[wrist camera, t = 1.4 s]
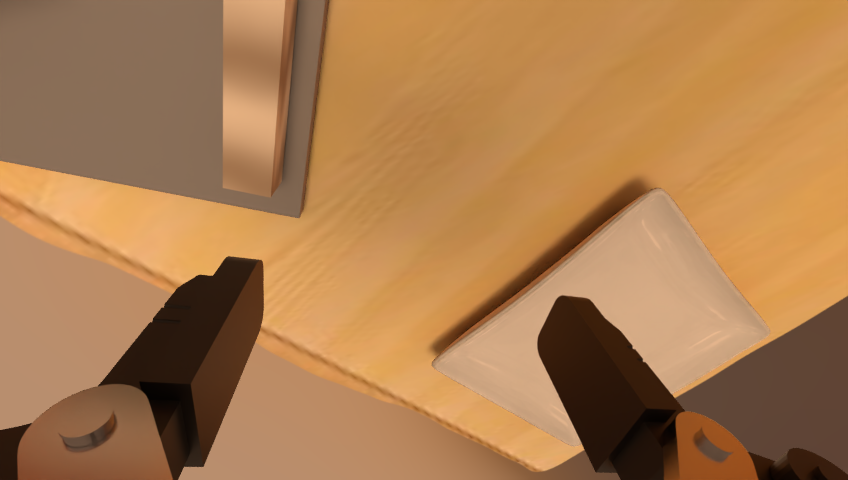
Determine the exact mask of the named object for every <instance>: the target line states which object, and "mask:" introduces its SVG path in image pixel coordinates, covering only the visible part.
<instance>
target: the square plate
mask: <svg viewBox="0 0 848 480" xmlns="http://www.w3.org/2000/svg"><path fill="white" fill-rule="evenodd" d="M561 295H565V296H574V297H583V298H588V299H590V300H591V301H592V302H593V303H594V305H595V306H596V307H597V309H598V310H599V311H600V312H601V314H602V315H603V316H604V317H605V319H607V320H608V321H609V322H610V323H612V324H613V325H614V326H615V327H616V328H618V329H619V330H620V331H621V332H622V333H623V334H624V336H625V337H626V338H627V339H628V341H629V342H630V343H631V344H632V346H633V349H636V351H637V352H638V353H639V354H640V356H641V357H642V358H643V362H646V363H647V364H648V366H649V367H650V368H651V369H652V371H653V372H654V373H655V374H656V376H657V377H658V378H659V379H660V381H661V382H662V383H663V384H664V385H665V387H666V388H667V389H668V390H669V392H670V393H671V394H673V393H675V392H677V391H679V390H680V389H682V388H684V387H685V386H687V385H689V384H691V383H692V382H694V381H696V380H697V379H699V378H701V377H702V376H704V375H705V374H707V373H709V372H710V371H712V370H714V369H715V368H717V367H719V366H720V365H722V364H724V363H725V362H727V361H728V360H730V359H732V358H733V357H735V356H737V355H738V354H740V353H741V352H743V351H745V350H746V349H748V348H750V347H752V346H753V345H755V344H757V343H758V342H760V341H761V340H763V339H765V338H766V337H767V336H768V335H769V334H770V329H769V328H768V326H767V325H766V323H765V322H764V320H763V319H762V318H761V317H760V315H759V314H758V313H757V312H756V311H755V309H754V308H753V307H752V306H751V305H750V304H749V302H748V301H747V300H746V299H745V298H744V297H743V295H742V294H741V293H740V291H739V290H738V289H737V288H736V287H735V285H734V284H733V283H732V282H731V280H730V279H729V278H728V277H727V275H726V274H725V273H724V271H723V270H722V269H721V267H720V266H719V264H718V263H717V262H716V260H715V259H714V258H713V256H712V255H711V253H710V252H709V250H708V249H707V248H706V246H705V245H704V243H703V242H702V240H701V239H700V237H699V236H698V235H697V233H696V232H695V230H694V229H693V227H692V226H691V224H690V223H689V222H688V220H687V219H686V217H685V216H684V214H683V213H682V211H681V210H680V209H679V207H678V206H677V204H676V203H675V202H674V200H673V199H672V198H671V197H670V196H669V194H668V193H667V192H666V191H665V190H663V189H661V188H654V189H651V190H650V191H648V192H646V193H645V194H643V195H641V196H640V197H638V198H637V199H635V200H634V201H633V202H631V203H630V204H628V205H627V206H626V207H624V208H623V209H622V210H620V211H619V212H618V213H616V214H615V215H614V216H612V217H611V218H610V219H609V220H607V221H606V222H605V223H603V224H602V225H601V226H600V227H599V228H597V229H596V230H595V231H594V232H593V233H591V234H590V235H589V236H588V237H587V238H586V239H584V240H583V241H582V242H581V243H580V244H579V245H577V246H576V247H575V248H574V249H572V250H571V251H570V252H569V253H568V254H566V255H565V256H564V257H563V258H561V259H560V260H559V261H558V262H556V263H555V264H554V265H553V266H551V267H550V268H549V269H548V270H546V271H545V272H544V273H543V274H541V275H540V276H539V277H537V278H536V279H535V280H534V281H532V282H531V283H530V284H529V285H527V286H526V287H525V288H523V289H522V290H521V291H519V292H518V293H517V294H515V295H514V296H513V297H511V298H510V299H509V300H507V301H506V302H505V303H503V304H502V305H501V306H499V307H498V308H497V309H495V310H494V311H493V312H491V313H490V314H489V315H487V316H486V317H485V318H483V319H482V320H480V321H479V322H478V323H476V324H475V325H474V326H472V327H471V328H470V329H469V330H467V331H466V332H465V333H464V334H462V335H461V336H460V337H459V338H457V339H456V340H455V341H454V342H453V343H452V344H450V345H449V346H448V347H447V348H446V349H445V350H444V351H443V352H442V353H441V354H440V355H439V356H438V357H436V358H435V359H434V360H433V362H432V366H433V367H434V368H435V369H436V370H437V371H439V372H441V373H442V374H444V375H446V376H447V377H449V378H451V379H452V380H454V381H456V382H458V383H460V384H461V385H463V386H465V387H467V388H468V389H470V390H472V391H474V392H476V393H477V394H479V395H481V396H483V397H485V398H486V399H488V400H490V401H492V402H493V403H495V404H497V405H499V406H500V407H502V408H504V409H506V410H508V411H509V412H511V413H513V414H515V415H516V416H518V417H520V418H522V419H523V420H525V421H527V422H529V423H530V424H532V425H534V426H536V427H537V428H539V429H541V430H543V431H544V432H546V433H548V434H550V435H552V436H553V437H555V438H557V439H559V440H561V441H562V442H564V443H566V444H568V445H570V446H579V445H581V444H582V443H581V441H580V439H579V437H578V435H577V433H576V431H575V429H574V427H573V424H572V422H571V420H570V418H569V416H568V414H567V412H566V410H565V408H564V406H563V404H562V402H561V400H560V398H559V396H558V394H557V392H556V390H555V387H554V385H553V383H552V381H551V379H550V377H549V375H548V373H547V371H546V369H545V367H544V365H543V363H542V361H541V359H540V357H539V354H538V349H537V340H538V335H539V333H540V331H541V329H542V327H543V325H544V323H545V321H546V319H547V316H548V314H549V312H550V310H551V308H552V306H553V304H554V302H555V300H556V299H557V298H558V297H559V296H561Z"/></svg>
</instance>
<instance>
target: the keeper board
mask: <svg viewBox="0 0 848 480" xmlns="http://www.w3.org/2000/svg"><path fill="white" fill-rule="evenodd" d="M328 3H329V0H298V3H297V14H296V26H295V37H294V48H293V60H292V71H291V83H290V94H289V105H288V117H287V128H286V139H285V151H284V162H283V174H282V182H281V183H280V185H279V186H278V188H277V189H276V191H275V192H274V194H273V195H272V196H271V198H270V197H265V196H260V195H255V194H251V193H246V192H241V191H236V190H231V189H226V188H223V0H0V161H4V162H9V163H15V164H20V165H25V166H30V167H35V168H41V169H46V170H51V171H56V172H61V173H67V174H72V175H77V176H82V177H87V178H93V179H98V180H103V181H108V182H113V183H118V184H124V185H129V186H134V187H139V188H144V189H150V190H155V191H160V192H165V193H170V194H176V195H181V196H186V197H191V198H196V199H202V200H207V201H212V202H217V203H222V204H227V205H233V206H238V207H243V208H248V209H253V210H259V211H264V212H269V213H274V214H279V215H285V216H290V217H295V218H300V216H301V213H302V211H303V206H304V198H305V189H306V181H307V173H308V165H309V157H310V149H311V141H312V133H313V125H314V117H315V108H316V100H317V92H318V84H319V76H320V68H321V60H322V52H323V44H324V36H325V27H326V19H327V11H328Z"/></svg>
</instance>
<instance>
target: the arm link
mask: <svg viewBox="0 0 848 480" xmlns="http://www.w3.org/2000/svg"><path fill="white" fill-rule="evenodd" d="M297 3H298V0H223V188H226V189H231V190H236V191H241V192H246V193H251V194H255V195H260V196H265V197H270V198H271V196H272V195H273V194H274V192H275V191H276V189H277V188H278V186H279V185H280V183H281V182H282V174H283V162H284V151H285V139H286V128H287V117H288V105H289V94H290V83H291V71H292V60H293V48H294V37H295V26H296V14H297Z"/></svg>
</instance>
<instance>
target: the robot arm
mask: <svg viewBox="0 0 848 480" xmlns="http://www.w3.org/2000/svg"><path fill="white" fill-rule="evenodd" d="M263 310H264V290H263V262H262V260H256V259H247V258H238V257H230V256H228V257H226V258H225V260H224V261H223V262H222V264H221V265H220V267H219V268H218V269H217V271H216V272H215V274H214V275H213V276H207V275H198V276H196V277H194V278H193V279H191V280H190V281H188V282H186V283H185V284H183V285H181V286H180V287H178V288H177V289H176V291H175V292H174V293H173V294H172V296H171V297H170V298H169V299H168V301H167V302H166V303H165V306H164V308H161V309H160V311H159V312H158V313H157V314H156V316H155V317H154V318H153V321H152V322H150V323H149V324H148V326H147V327H146V328H145V329H144V330H143V332H142V333H141V334H140V335H139V336H138V338H137V339H136V340H135V342H134V343H133V344H132V345H131V347H130V348H129V349H128V350H127V351H126V352H125V354H124V355H123V356H122V357H121V359H120V360H119V361H118V362H117V364H116V365H115V366H114V367H113V369H112V370H111V371H110V373H109V374H108V375H107V376H106V377H105V379H104V380H103V381H102V382H101V383H100V384H99V385H98V387H93V388H90V389H86V390H83V391H80V392H78V393H76V394H74V395H71V396H69V397H67V398H65V399H63V400H61V401H60V402H58V403H56V404H55V405H53V406H52V407H50V408H49V409H48V410H46V411H45V412H44V413H42V414H41V415H40V416H39V417H38V418H37V419H36V420H35V421H34V422H33V423H30V424H26V425H22V426H19V427H14V428H9V429H4V430H0V480H178V478H179V476H180V474H181V472H182V470H183V468H184V467H203V466H204V464H205V462H206V459H207V457H208V454H209V452H210V450H211V447H212V445H213V442H214V440H215V437H216V435H217V433H218V430H219V428H220V425H221V423H222V421H223V418H224V416H225V413H226V411H227V409H228V406H229V404H230V401H231V399H232V397H233V394H234V392H235V389H236V387H237V384H238V382H239V380H240V377H241V375H242V373H243V370H244V367H245V365H246V363H247V360H248V358H249V356H250V353H251V351H252V348H253V346H254V344H255V341H256V339H257V336H258V334H259V331H260V328H261V324H262V319H263ZM537 349H538V354H539V357H540V359H541V361H542V363H543V365H544V367H545V369H546V371H547V373H548V375H549V377H550V379H551V381H552V383H553V385H554V387H555V390H556V392H557V394H558V396H559V398H560V400H561V402H562V404H563V406H564V408H565V410H566V412H567V414H568V416H569V418H570V420H571V422H572V424H573V427H574V429H575V431H576V433H577V435H578V437H579V439H580V441H581V443H582V445H583V447H584V449H585V451H586V453H587V455H588V457H589V459H590V461H591V463H592V465H593V467H594V470H595V472H609V473H612V472H613V473H618V475H619V477H620V479H621V480H848V475H847V474H846V473H845V472H843V471H842V470H841V469H840V468H838V467H837V466H835V465H834V464H832V463H831V462H829V461H828V460H826V459H824V458H822V457H821V456H818V455H816V454H815V453H812V452H810V451H807V450H804V449H799V448H793V449H790V450H789V451H787V452H786V453H785V454H784V455H783V456H781V457H780V458H779V459H778V460H777V461H773V460H770V459H767V458H764V457H762V456H759V455H756V454H753V453H750V452H747V451H746V449H745V448H744V447H743V445H742V444H741V443H740V442H739V441H738V440H737V439H736V438H735V437H734V436H733V435H732V434H731V433H730V432H728V431H727V430H726V429H725V428H723V427H722V426H720V425H719V424H717V423H716V422H715V421H713V420H711V419H709V418H707V417H705V416H703V415H700V414H698V413H694V412H685V410H684V409H683V408H682V407H681V406H680V404H679V403H678V402H677V400H676V399H675V398H674V397H673V395H672V394H671V393H670V392H669V390H668V389H667V388H666V387H665V385H664V384H663V383H662V382H661V381H660V379H659V378H658V377H657V376H656V374H655V373H654V372H653V371H652V369H651V368H650V367H649V366H648V364H647V363H646V362H643V358H642V357H641V356H640V354H639V353H638V352H637V351H636V349H633V346H632V344H631V343H630V342H629V341H628V339H627V338H626V337H625V336H624V334H623V333H622V332H621V331H620V330H619V329H618V328H616V327H615V326H614V325H613V324H612V323H610V322H609V321H608V320H607V319H605V317H604V316H603V315H602V314H601V312H600V311H599V310H598V309H597V307H596V306H595V305H594V303H593V302H592V301H591V300H590V299H588V298H583V297H574V296H565V295H561V296H559V297H558V298H557V299H556V300H555V302H554V304H553V306H552V308H551V310H550V312H549V314H548V316H547V319H546V321H545V323H544V325H543V327H542V329H541V331H540V333H539V335H538V340H537Z"/></svg>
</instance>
